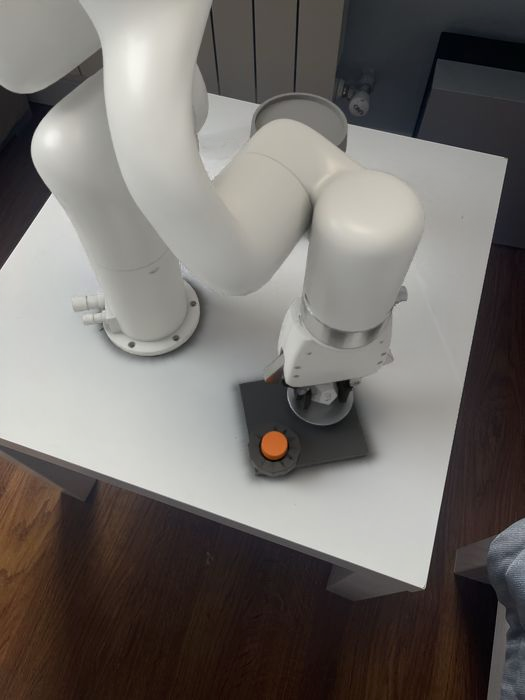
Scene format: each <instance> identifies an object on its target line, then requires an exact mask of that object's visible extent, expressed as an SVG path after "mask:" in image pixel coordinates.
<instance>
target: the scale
mask: <svg viewBox="0 0 525 700" xmlns="http://www.w3.org/2000/svg"><path fill="white" fill-rule="evenodd" d="M238 390H239V396H240V402H241V406H242V412H243V418H244V423H245V429H246V434H247V440H248V442H247V454H248V459H249V463H250V464H251V465H252V469H253V474H254V476H255V477H257V476H263V475H265V476H268V477H270V478H274V477H280V476H285V475H287V474H289V473H290V472H291V471H292V470H294V469H300V468H306V467H313V466H317V465H324V464H329V463H334V462H335V463H336V462H339V461H340V462H341V461H345V460H350V459H351V460H353V459H356V458H363V457H366V456H367V455H368V453H369V451H368V447H367V443H366V440H365V436H364V432H363V429H362V426H361V423H360V419H359V416H358V412H357V409H356V405H355V402H354V400H353V403H352V407H351V409H350V411H349V413H348V414H347V415H346V417H345V418H344V419H342V420H341V421H340V422H338V423H336V424H333V425H330V426H314V425H310V424H308V423H306V422H304V421H302V420H301V419H299V418H298V417H297V416H296V415H295V414H294V413H293V411H292V410H291V408H290V406H289V403H288V399H287V390H288V387H285V386H283V384H282V383H279V384H275V383H267V382H265V379H261V380H254V381H247V382H242V383H241V382H240V383H239V384H238ZM272 431H277V432H280V433H282V434H283V435H284V436H285V437H286V439H287V450H286V453H285V455H284V456H283V457H282V458H280V459H278V460H271V459H268V458H267V457H265V456H264V454H263V452H262V449H261V446H262V439H263V437H264V436H265V435H266V434H267V433H269V432H272Z"/></svg>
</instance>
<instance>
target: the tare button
mask: <svg viewBox="0 0 525 700" xmlns="http://www.w3.org/2000/svg"><path fill="white" fill-rule="evenodd" d="M261 449H262V452H263V454H264V456H265V457H267V458H268V459H271V460H278V459H280V458H282V457H283V456H284V455H285V453H286V450H287V439H286V437H285V436H284V435H283V434H282V433H280V432H277V431H272V432H269V433H267V434H266V435H265V436H264V437H263V439H262V446H261Z"/></svg>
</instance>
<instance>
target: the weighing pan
mask: <svg viewBox="0 0 525 700" xmlns="http://www.w3.org/2000/svg"><path fill="white" fill-rule="evenodd" d="M353 390H354V389H352V391H351V392H350V393H349V396H348V398H347V401H346V402H344V403H341V402H339V399H338V396H337V397H336V398H335V399H334V400H333V401H332V402H331V403H330V404H329V405H328V404H324V403H319V402H316V401H313V400H311V402H310V406H309V407H308V409H303V408H302V404H301V400H297V401H296V399H295V396H294V390H293V389H292V388H289V387H288V390H287V399H288V403H289V406H290V408H291V410H292V411H293V413H294V414H295V415H296V416H297V417H298V418H299V419H301V420H302V421H304V422H306V423H308V424H310V425H314V426H330V425H333V424H336V423H338V422H340V421H341V420H342V419H344V418H345V417H346V415H347V414H348V413H349V411H350V409H351V407H352V403H353V401H354V391H353Z"/></svg>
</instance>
